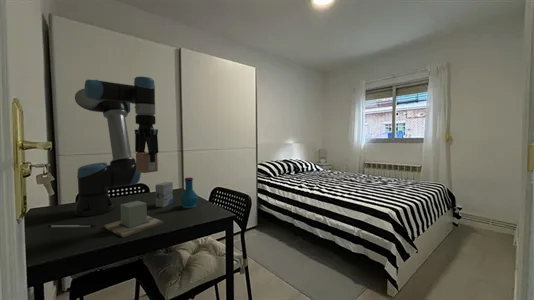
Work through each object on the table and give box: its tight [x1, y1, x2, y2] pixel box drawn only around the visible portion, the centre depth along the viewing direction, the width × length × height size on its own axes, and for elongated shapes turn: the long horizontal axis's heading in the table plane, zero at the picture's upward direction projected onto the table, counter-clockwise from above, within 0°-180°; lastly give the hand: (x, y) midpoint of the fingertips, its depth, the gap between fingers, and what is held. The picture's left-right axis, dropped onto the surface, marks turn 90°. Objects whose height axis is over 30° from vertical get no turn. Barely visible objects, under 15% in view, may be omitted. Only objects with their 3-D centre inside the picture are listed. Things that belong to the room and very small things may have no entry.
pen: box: [47, 224, 96, 228], centre depth 96 cm, size 1×19×1 cm, turn 91°
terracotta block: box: [135, 151, 159, 174], centre depth 100 cm, size 6×6×8 cm
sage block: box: [120, 200, 148, 228], centre depth 97 cm, size 7×7×8 cm
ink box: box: [155, 181, 174, 208], centre depth 126 cm, size 9×5×12 cm, turn 168°
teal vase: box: [179, 176, 199, 209], centre depth 123 cm, size 9×9×15 cm
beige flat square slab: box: [103, 215, 164, 238], centre depth 97 cm, size 16×16×1 cm
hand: (147, 169), depth 101 cm, fingers closed on terracotta block, 6 cm apart
